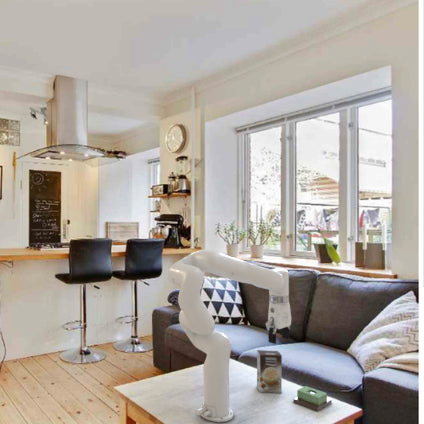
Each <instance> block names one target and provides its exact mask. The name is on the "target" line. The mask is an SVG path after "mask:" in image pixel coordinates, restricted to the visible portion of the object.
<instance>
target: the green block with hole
mask: <svg viewBox="0 0 424 424" xmlns="http://www.w3.org/2000/svg"><path fill="white" fill-rule="evenodd" d="M310 392H314V393H315V394H312V393H310ZM296 394H297V395H296V397H298V398H300V399H303V400H306V401H309V402H311V403H314V404H317V405H320V404H322V403H324V402H326V401H327V398H328V393H327V392H325V391H322V390H319V389H316V388H313V387H309V386H307V385H304V386H302V387H301V388H299V389H297V392H296Z"/></svg>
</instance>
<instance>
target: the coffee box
mask: <svg viewBox="0 0 424 424" xmlns="http://www.w3.org/2000/svg"><path fill="white" fill-rule="evenodd" d="M256 351H257V353H256V355H257V357H256V387H257V389H258V391H259V392H260V393H272V394H273V393H274V394H275V393H276V394H282V389H283V388H282V380H283V379H282V376H283V374H282V372H283V370H282V369H283V368H282V367H283V364H282V363H283V362H282V360H283V359H282V354H281V352H279V351H278V350H261V349H257V350H256Z"/></svg>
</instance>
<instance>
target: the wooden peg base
mask: <svg viewBox="0 0 424 424" xmlns="http://www.w3.org/2000/svg"><path fill="white" fill-rule="evenodd" d="M310 393H312V394H315V393H314V392H310ZM293 403H294V404H297V405H299V406H302V407H304V408H307V409H309V410H312V411H315V412H320V411H321V410H323V409H325V408H326V407H328V406H330V405H331V404H332V399H331V398H328V397H327V401H326V402H324V403H322V404H320V405H317V404H314V403H311V402H309V401H306V400H303V399H300V398H298V397H297V396H296V397H294V398H293Z"/></svg>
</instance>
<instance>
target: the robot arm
mask: <svg viewBox="0 0 424 424" xmlns="http://www.w3.org/2000/svg"><path fill="white" fill-rule="evenodd" d="M203 272H204V273H209V274H211V275H215V276H218V277H220V278H224V279H227V280H231V281H234V282H237V283H243V284H247V285H253V286H254V287H257V288H260V289H265V290H269V291H268V293H269V294H268V299H269V300H268V301H269V305H268V313H267V314H268V315H267V321H266V322H265V327H266V331H267V333H268V339H267V341H268V343H270V344H274V345H276V344H277V333H276V332H277V330H281V338H282V339H286V340H290V336H291V334H290V333H291V332H290V331H291V325H292V319H293V317H292V312H291V311H292V309H291V305H290V276H289V275H290V274H289V271H288V270H287V269H285V268H277V267H276V268H271V269H270V268H267V267H263V266H261V265H259V264H258V265H257V264H254V263H251V262H249V261H245V260H243V259H240V258H236V257H233V256H230V255H227V254H224V253H221V252H218V251H214V250H208V249H198V250H196V251H193V252H192V253H190V254H188V255H186V256H185V257H183V258H181V259H179V260H178V261H176V262H175V263H173V264H172V265H171V266H170V268H169V270H168V278H169V280H170V281H171V283H172V284H174V285H176V286H180V288H179V291H178V297H177V303H178V306H179V309H180V310H179V314H178V321H179V322H178V323H179V325H180V327H181V328H182V330H183V332H184V333H185V334H186V336H187V338H188V339H189V341H190V342H191V344H192V345H193V346H194V348H196V349H197V350H199V351H201V352H203V353H204V354H206V357H205V360H204V363H203V369H202V370H203V403H202V404H201V407H200V408H198V409H196V410H195V415H196V416H201V417H202V418H203V419H204V420H207V421H210V422H215V423H225V422H229V421H231V420H232V419H233V418H234V410H233V409H231V407H230V358H231V354H232V342H231V340H230V338H229V337H228V335H226V334H224V333H223V332H221V331H219V330H217V329H216V324H215V323H216V322H215V319H214V317H213V316H212V314H211V312H210V311H209V309H208V308H207V305H206V304H205V303H204V301H203V299H202V296H201V290H202V287H203V284H204V280H205V279H204V277H205V276H204V273H203Z"/></svg>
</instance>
